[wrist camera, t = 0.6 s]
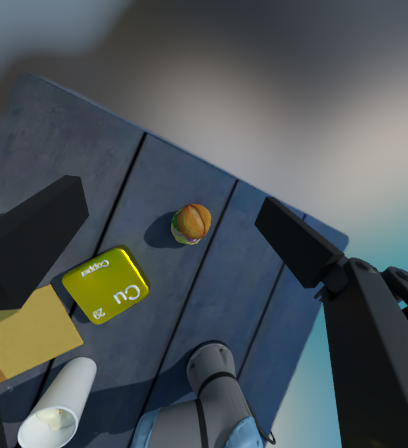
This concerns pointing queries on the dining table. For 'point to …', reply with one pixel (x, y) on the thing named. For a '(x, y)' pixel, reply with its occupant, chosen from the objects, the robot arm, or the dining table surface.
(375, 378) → the robot arm
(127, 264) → the element tile
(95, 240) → the dining table surface
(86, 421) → the dining table surface
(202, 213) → the cheeseburger
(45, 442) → the candle holder
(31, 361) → the towel
